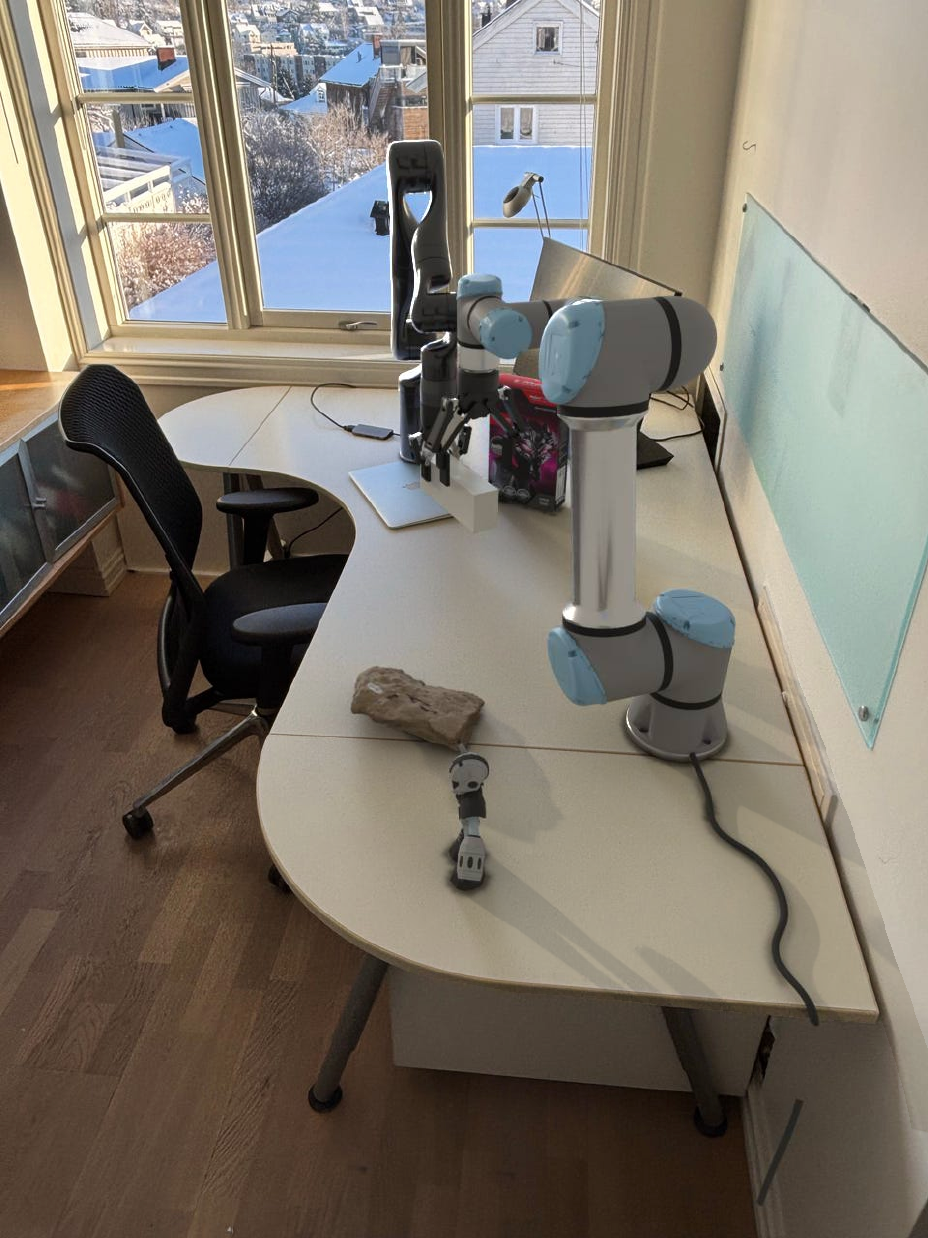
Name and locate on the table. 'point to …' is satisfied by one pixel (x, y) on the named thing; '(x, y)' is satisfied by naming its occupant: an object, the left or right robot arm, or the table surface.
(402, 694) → the stone
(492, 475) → the graphics card box
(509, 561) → the table surface
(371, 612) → the table surface
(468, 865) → the robot
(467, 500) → the bar
